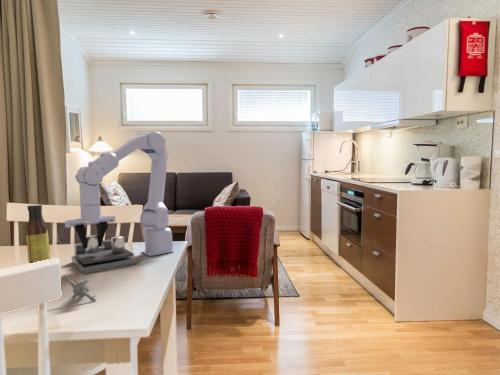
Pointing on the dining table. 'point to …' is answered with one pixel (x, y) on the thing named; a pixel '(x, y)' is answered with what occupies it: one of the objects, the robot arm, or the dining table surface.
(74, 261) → the scale
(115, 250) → the steel spacer
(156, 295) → the dining table surface
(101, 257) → the pan
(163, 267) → the dining table surface
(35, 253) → the sauce bottle
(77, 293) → the grey piece
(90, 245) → the steel spacer
